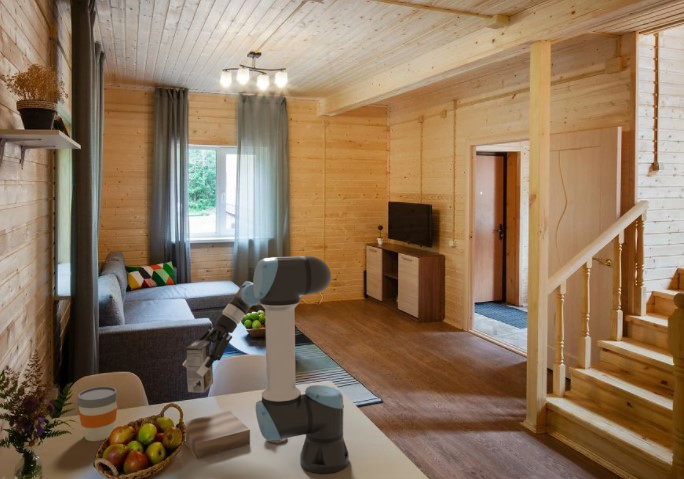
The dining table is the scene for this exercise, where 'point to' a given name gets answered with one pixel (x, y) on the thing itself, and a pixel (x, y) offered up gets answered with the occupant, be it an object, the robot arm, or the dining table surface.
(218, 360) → the robot arm
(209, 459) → the dining table surface
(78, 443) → the dining table surface
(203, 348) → the coffee box
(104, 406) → the reusable coffee cup
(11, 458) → the dining table surface
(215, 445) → the walnut plinth
